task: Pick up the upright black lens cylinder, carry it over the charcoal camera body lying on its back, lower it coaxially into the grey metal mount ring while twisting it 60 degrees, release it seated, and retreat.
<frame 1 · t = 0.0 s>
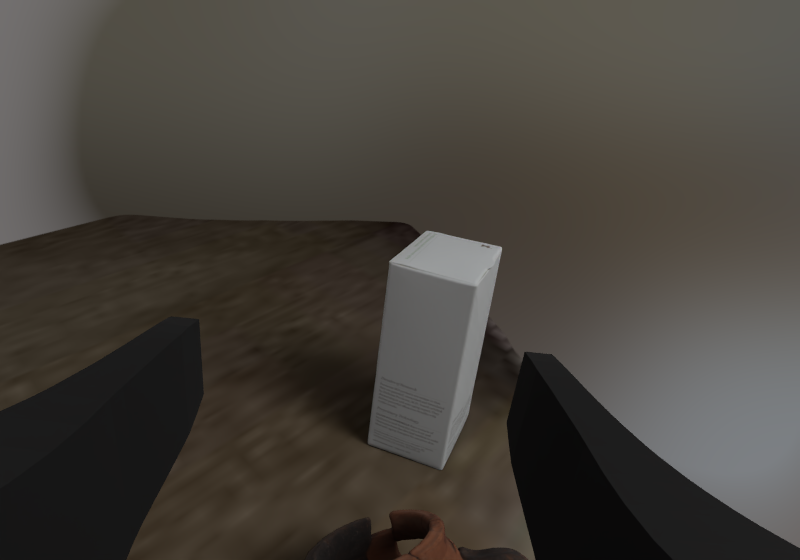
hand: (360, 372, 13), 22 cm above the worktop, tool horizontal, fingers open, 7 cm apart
skincare box: (421, 432, 46), on the worktop
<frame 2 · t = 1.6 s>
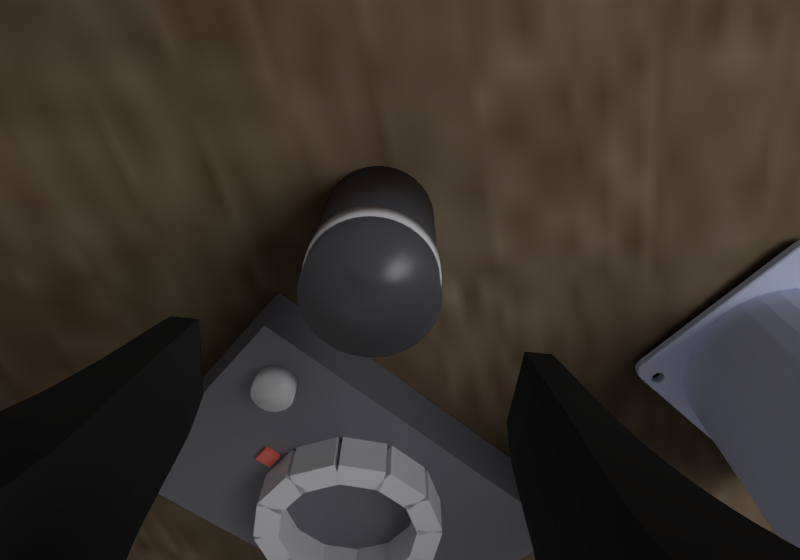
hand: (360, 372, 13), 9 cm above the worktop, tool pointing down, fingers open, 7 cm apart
lens: (379, 218, 21), on the worktop
camera body: (355, 461, 27), on the worktop
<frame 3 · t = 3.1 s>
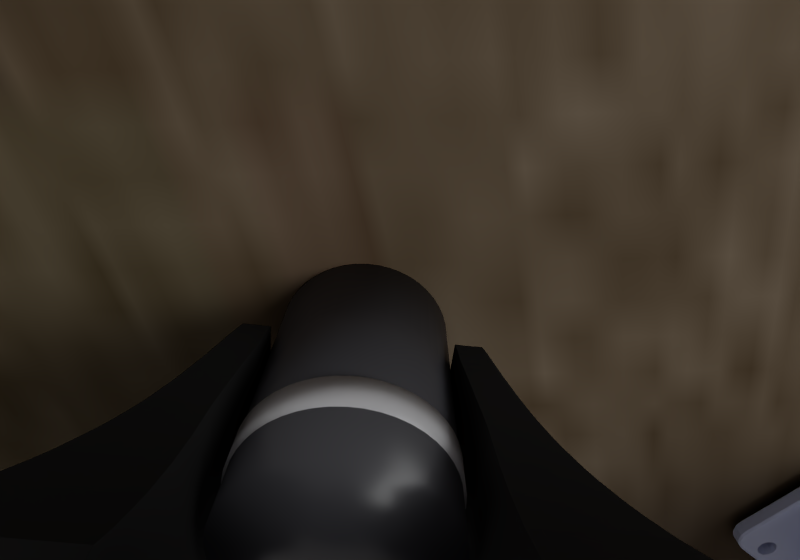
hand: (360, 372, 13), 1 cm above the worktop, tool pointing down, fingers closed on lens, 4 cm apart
lens: (364, 337, 14), on the worktop, touching gripper
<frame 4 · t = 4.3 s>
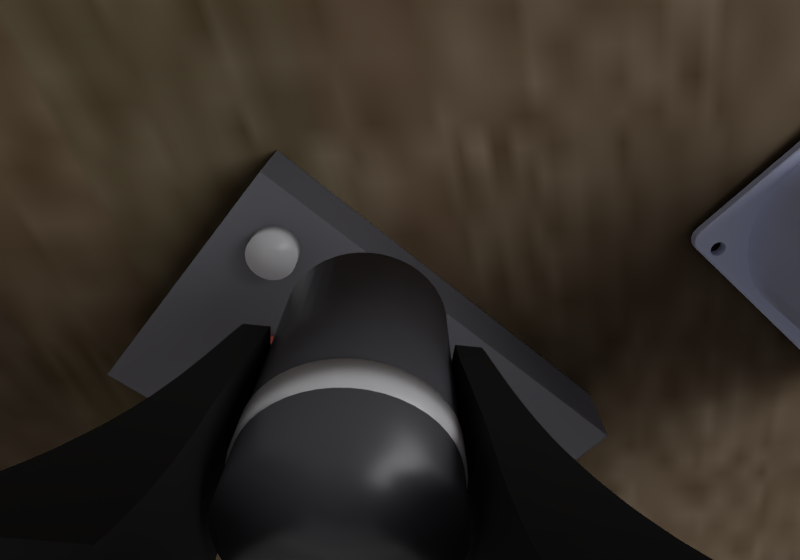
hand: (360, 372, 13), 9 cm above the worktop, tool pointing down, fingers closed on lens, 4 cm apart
lens: (365, 325, 14), point 7 cm above the worktop, touching gripper
camera body: (367, 366, 23), on the worktop
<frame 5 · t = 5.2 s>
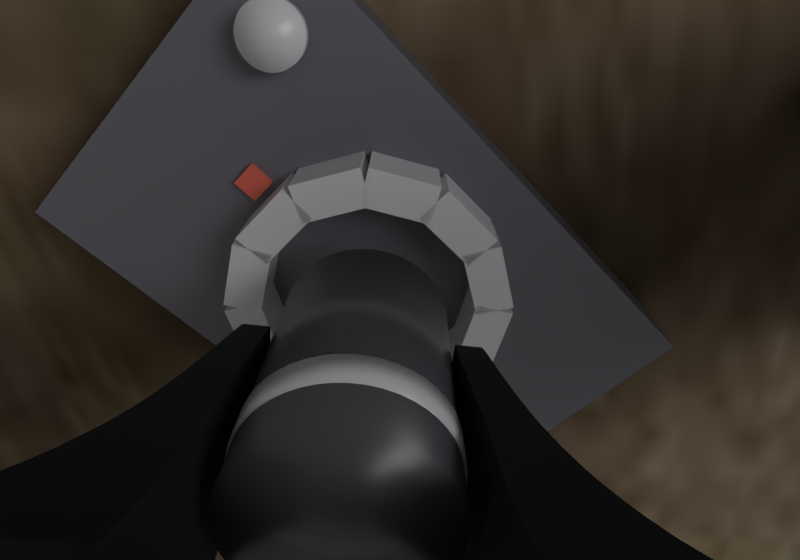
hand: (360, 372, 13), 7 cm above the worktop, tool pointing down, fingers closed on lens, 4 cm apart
lens: (365, 322, 14), point 5 cm above the worktop, touching gripper
camera body: (375, 247, 19), on the worktop
when the fingers open (5 cm above the worktop, at t = 6.0 s): lens drops 1 cm, resting on camera body.
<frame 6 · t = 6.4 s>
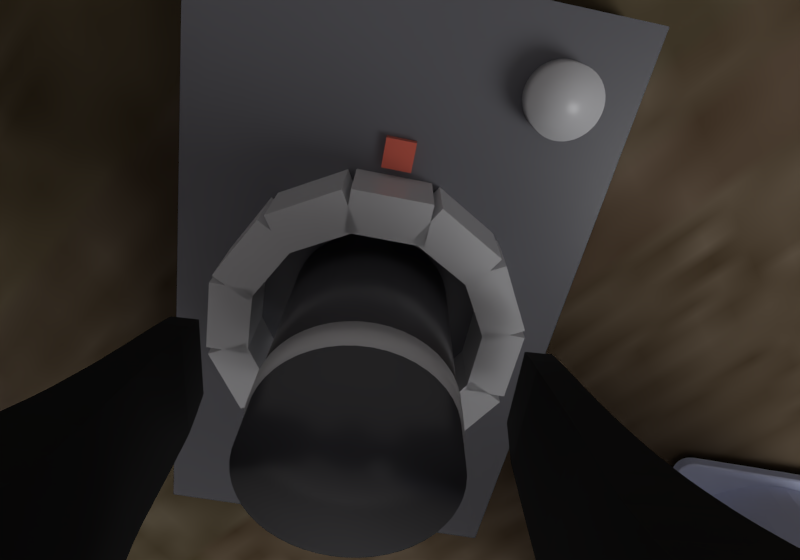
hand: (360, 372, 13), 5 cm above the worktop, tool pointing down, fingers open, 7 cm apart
lens: (370, 302, 15), point 3 cm above the worktop, touching camera body
camera body: (373, 269, 17), on the worktop
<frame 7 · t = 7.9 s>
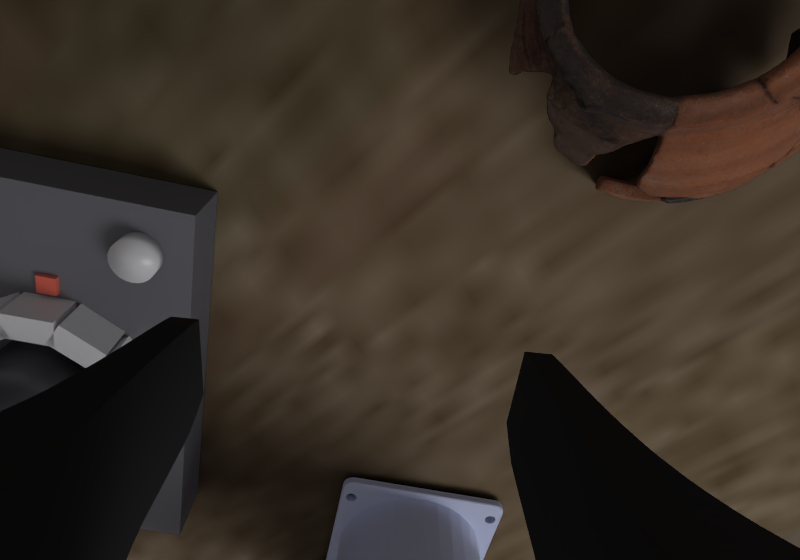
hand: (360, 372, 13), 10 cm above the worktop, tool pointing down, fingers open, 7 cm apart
lens: (56, 373, 22), point 3 cm above the worktop, touching camera body
camera body: (89, 343, 24), on the worktop
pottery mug: (676, 45, 19), on the worktop
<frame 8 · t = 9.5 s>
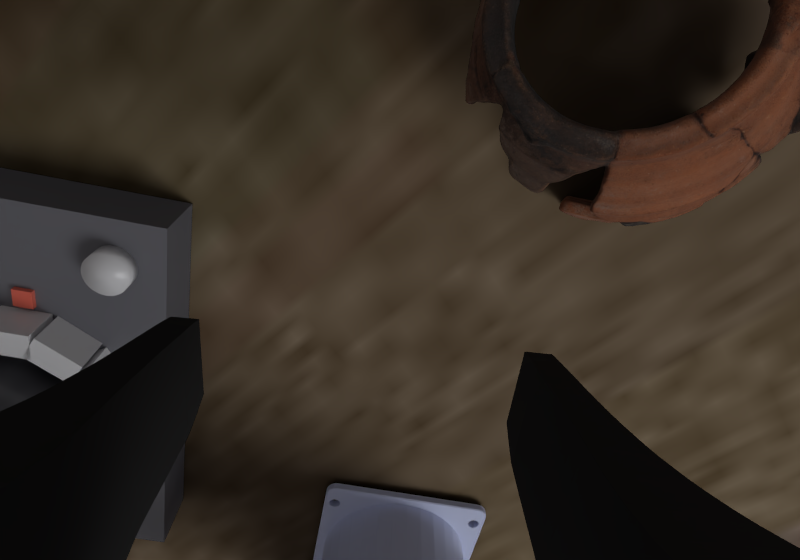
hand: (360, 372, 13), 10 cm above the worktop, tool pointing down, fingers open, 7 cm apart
lens: (36, 384, 22), point 3 cm above the worktop, touching camera body
camera body: (70, 353, 25), on the worktop
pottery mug: (635, 67, 19), on the worktop
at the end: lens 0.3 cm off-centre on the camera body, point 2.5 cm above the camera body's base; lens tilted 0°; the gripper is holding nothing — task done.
